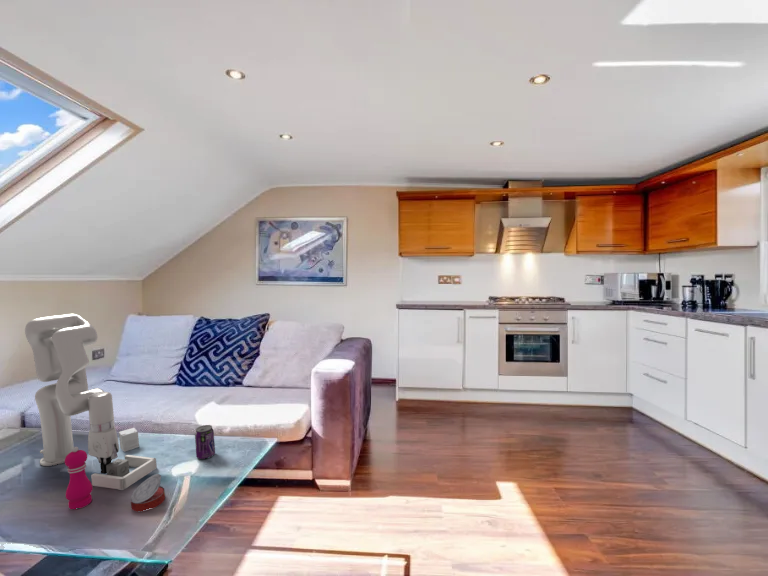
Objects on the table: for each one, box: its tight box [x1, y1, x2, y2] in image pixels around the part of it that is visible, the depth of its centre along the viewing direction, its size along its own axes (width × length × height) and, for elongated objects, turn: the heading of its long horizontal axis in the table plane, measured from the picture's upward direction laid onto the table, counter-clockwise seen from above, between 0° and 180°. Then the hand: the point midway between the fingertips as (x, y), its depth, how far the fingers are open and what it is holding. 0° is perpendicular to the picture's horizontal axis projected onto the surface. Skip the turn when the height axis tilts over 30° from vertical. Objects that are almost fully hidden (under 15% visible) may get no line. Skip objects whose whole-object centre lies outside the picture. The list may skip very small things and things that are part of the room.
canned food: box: [130, 473, 166, 513], centre depth 134 cm, size 11×10×10 cm
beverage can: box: [194, 424, 216, 460], centre depth 164 cm, size 7×7×12 cm
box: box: [90, 454, 158, 491], centre depth 150 cm, size 14×15×4 cm
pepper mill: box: [64, 446, 93, 510], centre depth 133 cm, size 7×7×20 cm
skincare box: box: [118, 427, 140, 453], centre depth 174 cm, size 6×6×7 cm
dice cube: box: [106, 458, 130, 477], centre depth 151 cm, size 5×5×5 cm
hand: (106, 471), depth 152 cm, fingers closed
